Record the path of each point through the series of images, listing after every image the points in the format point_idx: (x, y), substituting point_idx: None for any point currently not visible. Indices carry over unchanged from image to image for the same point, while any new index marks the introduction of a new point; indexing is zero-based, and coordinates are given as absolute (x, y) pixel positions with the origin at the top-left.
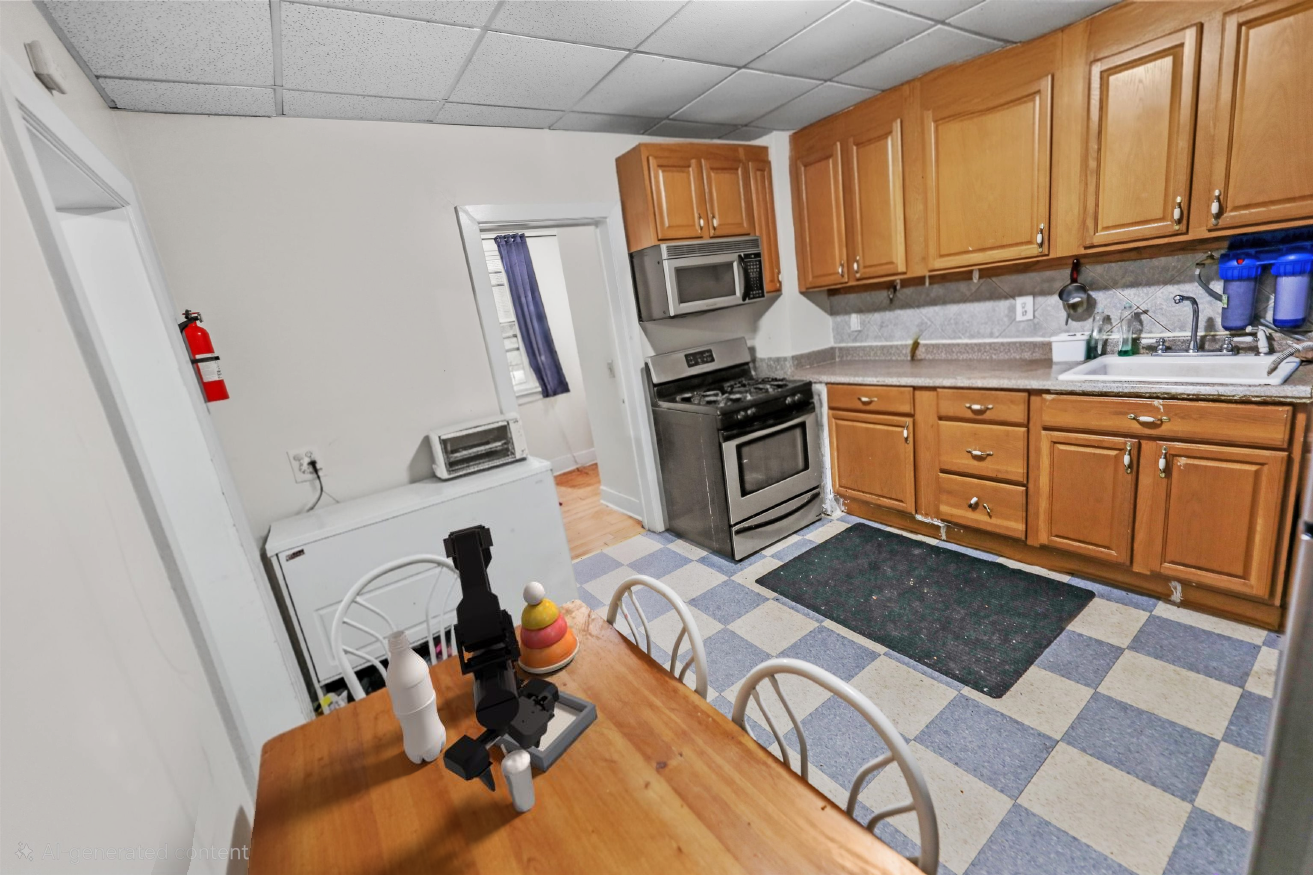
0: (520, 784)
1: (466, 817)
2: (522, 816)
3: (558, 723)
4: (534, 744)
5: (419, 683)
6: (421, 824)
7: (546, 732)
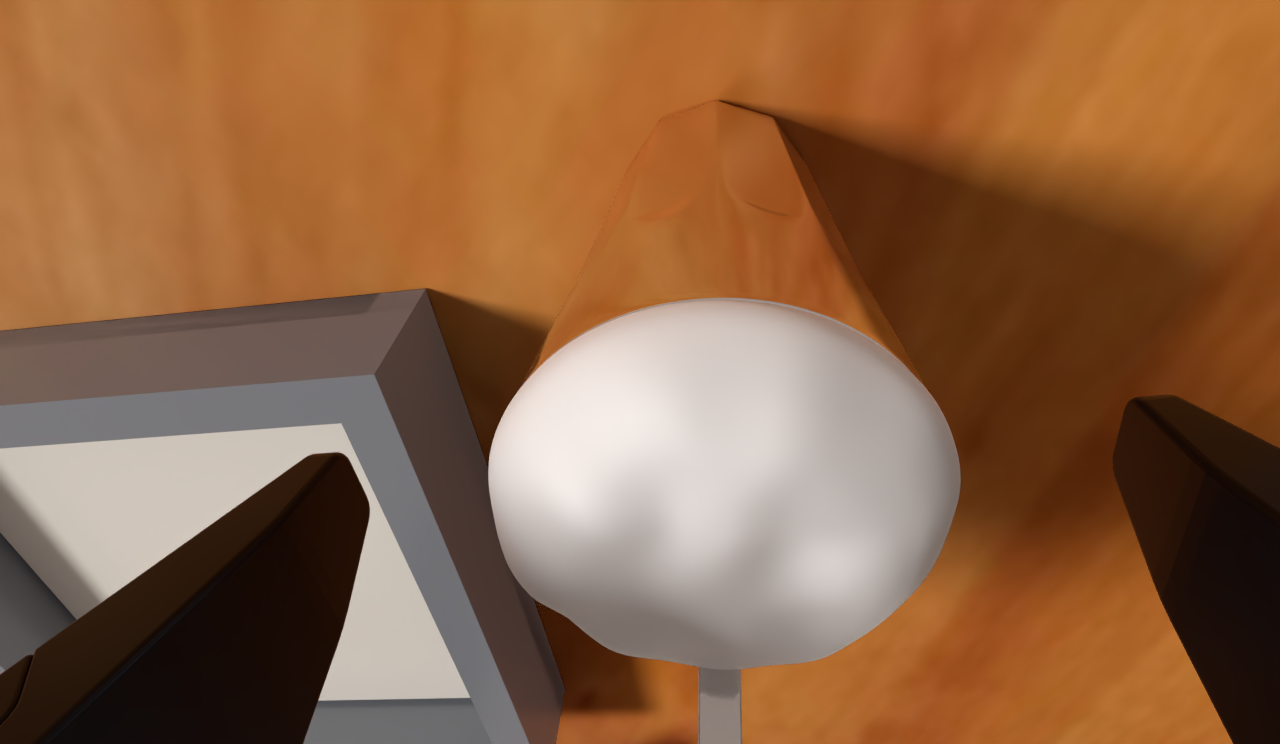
0: (803, 230)
1: (1028, 452)
2: (815, 100)
3: (144, 522)
4: (343, 521)
5: None
6: None
7: None
